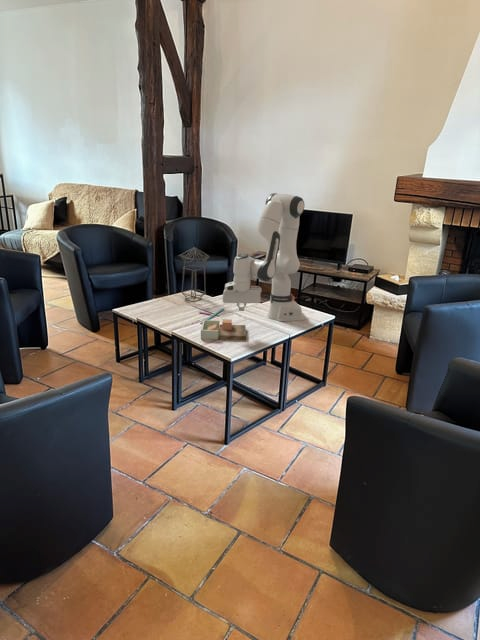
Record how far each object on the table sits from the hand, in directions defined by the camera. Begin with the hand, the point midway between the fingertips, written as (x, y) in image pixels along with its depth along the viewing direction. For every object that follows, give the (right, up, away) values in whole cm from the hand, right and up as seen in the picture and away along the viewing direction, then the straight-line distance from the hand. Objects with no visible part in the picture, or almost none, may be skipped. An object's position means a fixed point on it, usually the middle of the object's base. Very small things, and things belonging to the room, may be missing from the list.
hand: (241, 310), depth 235 cm
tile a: (-14, -12, -3) cm, 19 cm away
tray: (-17, -12, +1) cm, 21 cm away
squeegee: (-21, -3, +29) cm, 36 cm away
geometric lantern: (-31, +8, +58) cm, 67 cm away
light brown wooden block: (-8, -9, +3) cm, 13 cm away
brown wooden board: (-5, -13, +1) cm, 14 cm away
